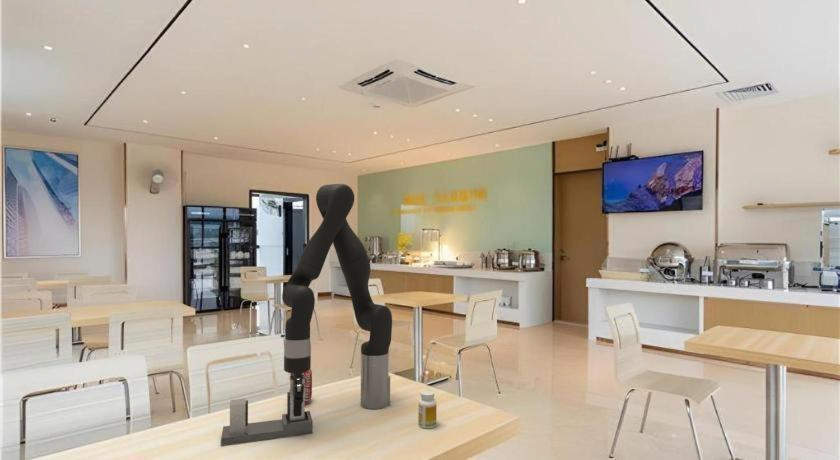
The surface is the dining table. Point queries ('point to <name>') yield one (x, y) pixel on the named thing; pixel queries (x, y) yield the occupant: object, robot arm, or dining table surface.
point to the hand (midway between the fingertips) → (296, 412)
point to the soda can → (307, 386)
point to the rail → (260, 426)
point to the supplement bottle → (427, 410)
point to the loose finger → (291, 407)
